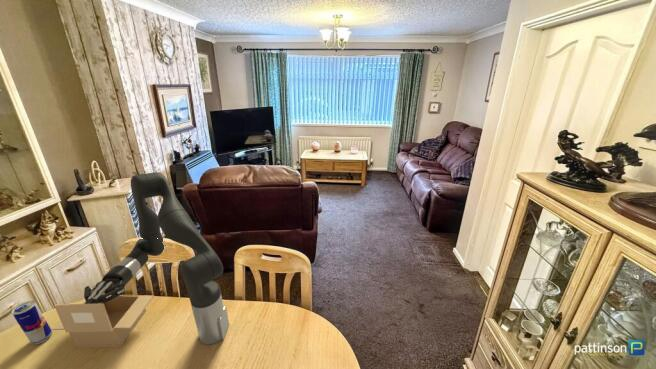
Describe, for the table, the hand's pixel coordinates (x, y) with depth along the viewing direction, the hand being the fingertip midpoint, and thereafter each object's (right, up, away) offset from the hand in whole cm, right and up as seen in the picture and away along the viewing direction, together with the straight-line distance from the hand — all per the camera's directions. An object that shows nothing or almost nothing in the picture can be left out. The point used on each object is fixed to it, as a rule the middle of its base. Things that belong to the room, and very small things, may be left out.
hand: (82, 311), depth 78 cm
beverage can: (-22, -13, +8) cm, 27 cm away
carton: (-1, -12, +12) cm, 18 cm away
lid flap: (0, -2, +1) cm, 3 cm away
